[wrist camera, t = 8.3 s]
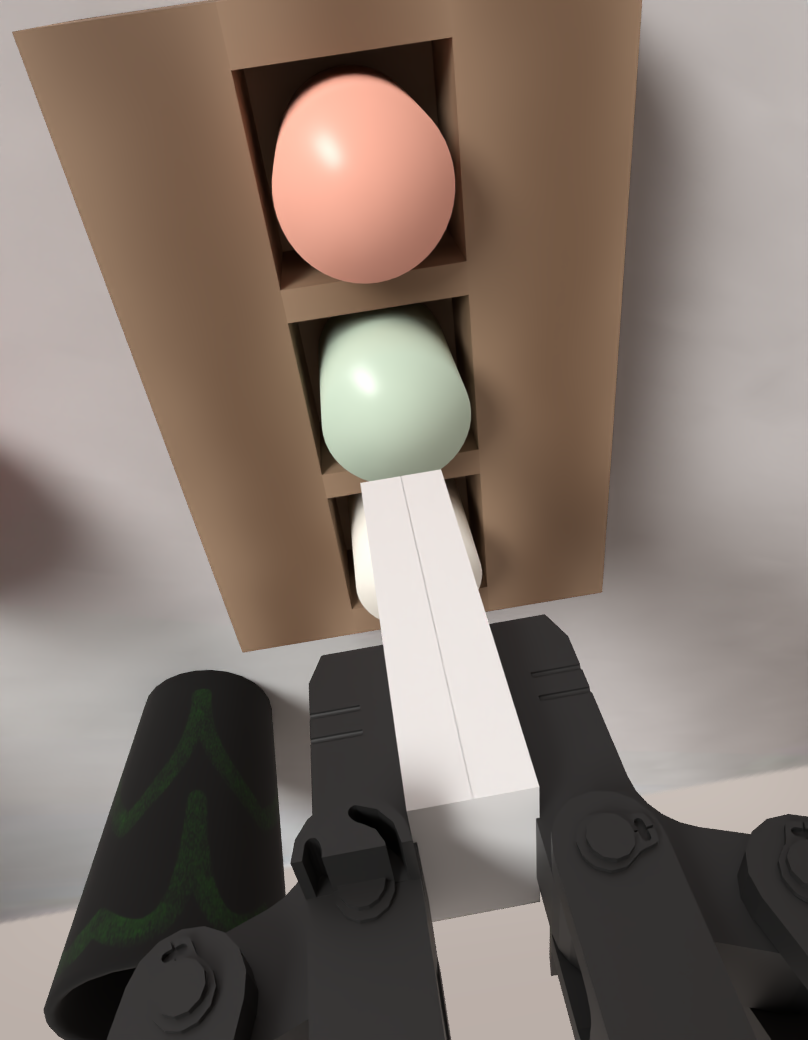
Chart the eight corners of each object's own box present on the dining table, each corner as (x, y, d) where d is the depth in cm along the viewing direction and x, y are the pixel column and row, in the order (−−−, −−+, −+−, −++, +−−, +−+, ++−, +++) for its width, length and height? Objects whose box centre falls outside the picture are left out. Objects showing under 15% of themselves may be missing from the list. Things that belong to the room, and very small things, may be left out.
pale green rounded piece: (330, 418, 22) (336, 494, 18) (306, 302, 19) (308, 365, 16) (449, 399, 22) (475, 472, 19) (438, 281, 20) (466, 340, 16)
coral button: (294, 241, 18) (293, 296, 15) (261, 78, 16) (251, 101, 13) (433, 219, 19) (461, 269, 15) (419, 54, 16) (447, 72, 13)
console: (251, 555, 28) (242, 652, 24) (77, 19, 17) (11, 31, 13) (558, 504, 28) (602, 592, 24) (568, -54, 18) (646, -63, 14)
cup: (327, 719, 34) (338, 1008, 25) (199, 782, 36) (163, 1075, 26) (220, 627, 30) (183, 933, 20) (81, 703, 31) (-14, 1018, 22)
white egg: (357, 551, 25) (366, 636, 22) (339, 463, 23) (346, 543, 19) (461, 534, 25) (485, 615, 22) (453, 445, 23) (478, 521, 19)
